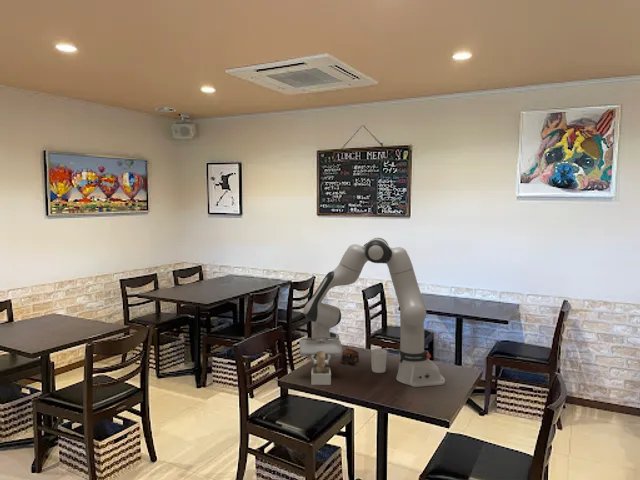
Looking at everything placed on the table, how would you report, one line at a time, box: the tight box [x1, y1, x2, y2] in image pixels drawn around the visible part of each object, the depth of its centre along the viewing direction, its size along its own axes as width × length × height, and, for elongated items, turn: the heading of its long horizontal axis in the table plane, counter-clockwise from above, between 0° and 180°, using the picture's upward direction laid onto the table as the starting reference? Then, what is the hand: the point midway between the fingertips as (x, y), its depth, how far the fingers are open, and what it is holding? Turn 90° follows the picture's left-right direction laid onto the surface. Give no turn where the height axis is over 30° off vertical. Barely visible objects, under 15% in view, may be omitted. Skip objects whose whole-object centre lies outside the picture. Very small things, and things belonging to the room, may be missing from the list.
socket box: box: [310, 367, 332, 386], centre depth 223 cm, size 9×9×5 cm
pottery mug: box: [340, 347, 360, 366], centre depth 249 cm, size 12×10×8 cm
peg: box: [316, 351, 326, 374], centre depth 222 cm, size 4×4×12 cm
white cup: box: [370, 348, 388, 374], centre depth 237 cm, size 8×8×10 cm
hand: (321, 364), depth 222 cm, fingers closed on peg, 4 cm apart
